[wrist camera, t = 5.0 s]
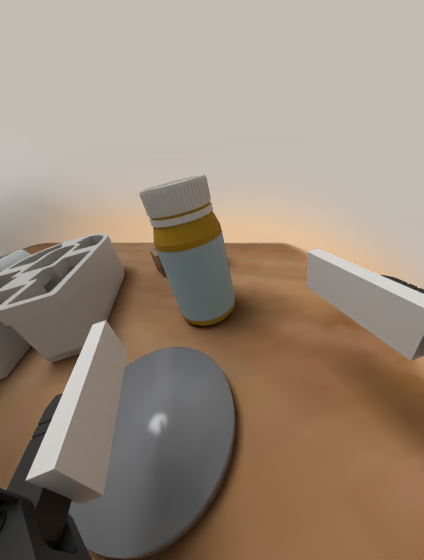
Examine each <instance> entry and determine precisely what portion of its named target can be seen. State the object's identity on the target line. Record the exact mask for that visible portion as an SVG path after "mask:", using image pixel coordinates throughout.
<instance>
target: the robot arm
mask: <svg viewBox="0 0 424 560" xmlns="http://www.w3.org/2000/svg"><path fill="white" fill-rule="evenodd" d="M307 287H308V288H309V289H311V290H312V291H314V292H315V293H316V294H318V295H319V296H321V297H322V298H323V299H325V300H326V301H328V302H329V303H330V304H332V305H333V306H335V307H336V308H337V309H339V310H340V311H342V312H343V313H344V314H346V315H347V316H349V317H350V318H351V319H353V320H354V321H356V322H357V323H358V324H360V325H361V326H363V327H364V328H365V329H367V330H368V331H370V332H371V333H372V334H374V335H375V336H377V337H378V338H379V339H381V340H382V341H384V342H385V343H386V344H388V345H389V346H391V347H392V348H393V349H395V350H396V351H398V352H399V353H400V354H402V355H403V356H405V357H406V358H407V359H409V360H410V361H412V360H415V359H417V358H419V357H421V356H424V289H421V288H417V287H416V286H414V285H411V284H407V282H404V281H402V280H399V279H397V278H394V277H389V276H385V275H378V274H376V273H374V272H372V271H369V270H367V269H365V268H362V267H360V266H358V265H355V264H353V263H351V262H348V261H346V260H344V259H342V258H339V257H337V256H335V255H332V254H330V253H327V252H325V251H323V250H320V249H316V250H313V251H310V252H308V266H307ZM126 355H127V350H126V349H125V347H124V346H123V344H122V343H121V341H120V340H119V338H118V337H117V335H116V334H115V333H114V331H113V330H112V328H111V327H110V325H109V324H108V322H107V321H106V320H105V321H102V322H99V323H96V324H93V325H92V327H91V330H90V332H89V334H88V337H87V339H86V341H85V344H84V346H83V348H82V350H81V353H80V355H79V357H78V360H77V362H76V364H75V367H74V369H73V371H72V374H71V376H70V378H69V381H68V383H67V385H66V388H65V390H64V392H63V393H62V394H59V395H56V396H55V397H54V399H53V400H52V401H51V403H50V404H49V405H48V407H47V408H46V409H45V411H44V413H43V415H42V417H41V419H40V421H39V423H38V425H39V426H38V427H37V428H36V430H35V432H34V434H33V436H32V437H33V438H32V440H30V442H29V444H28V446H27V449H26V451H25V453H24V455H23V457H22V459H21V461H20V463H19V465H18V467H17V469H16V472H15V474H14V476H13V478H12V480H11V482H10V484H9V486H8V488H7V490H3V489H1V488H0V560H91V558H90V556H89V553H88V551H87V549H86V546H85V544H84V542H83V540H82V537H81V535H80V533H79V531H78V528H77V526H76V524H75V521H74V519H73V517H72V516H71V515H70V514H68V513H69V509H70V505H71V501H74V502H76V503H78V504H81V505H82V504H85V503H87V502H89V501H91V500H94V499H96V498H98V497H101V496H103V495H104V489H105V483H106V477H107V471H108V465H109V459H110V453H111V447H112V440H113V434H114V428H115V422H116V416H117V410H118V404H119V398H120V392H121V386H122V380H123V374H124V368H125V362H126Z"/></svg>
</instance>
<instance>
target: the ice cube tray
mask: <svg viewBox="0 0 424 560" xmlns="http://www.w3.org/2000/svg"><path fill="white" fill-rule="evenodd" d="M124 276H125V273H124V268H123V265H122V263H121V261H120V260H119V258H118V256H117V254H116V252H115V250H114V248H113V246H112V242H111V240H110V238H109V236H108V235H107V234H94V235H89V236H84V237H81V238H77V239H74V240H70V241H67V242H65V243H61V244H58V245H55V246H53V247H50V248H47V249H45V250H42V251H40V252H38V253H35V254H33V255H31V256H29V257H26V258H24V259H22V260H20V261H18V262H17V263H15V264H13V265H11V266H10V267H8V268H6V269H5V270H3V271H1V272H0V379H3V378H6V377H7V376H8V375H9V374H10V372H11V371H12V370H13V369H14V367H15V366H16V365H17V363H18V362H19V361H20V360H21V358H22V357H23V356H24V354H25V353H26V352H27V351H28V349H29V348H30V347H31V346H32V347H33V348H35V349H36V350H37V351H38V352H39V353H40V354H41V355H42V356H43V357H44V358H45V359H46V360H49V361H53V362H55V361H58V360H62V359H65V358H68V357H71V356H74V355H77V354H80V353H81V350H82V348H83V346H84V344H85V341H86V339H87V337H88V334H89V332H90V330H91V327H92V325H93V324H96V323H99V322H102V321H105V320H106V321H107V319H108V317H109V314H110V312H111V309H112V307H113V304H114V301H115V299H116V296H117V294H118V291H119V289H120V286H121V284H122V281H123V279H124Z"/></svg>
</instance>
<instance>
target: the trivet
mask: <svg viewBox="0 0 424 560" xmlns="http://www.w3.org/2000/svg"><path fill="white" fill-rule="evenodd" d="M235 434H236V413H235V406H234V401H233V398H232V394H231V391H230V388H229V384H228V382H227V380H226V377H225V375H224V374H223V372H222V370H221V369H220V367H219V366H218V365H217V364H216V363H215V362H214V361H213V360H212V359H211V358H210V357H209V356H207V355H205V354H204V353H202V352H200V351H197V350H194V349H191V348H185V347H171V348H165V349H160V350H157V351H154V352H151V353H149V354H147V355H144V356H142V357H141V358H139V359H137V360H135V361H134V362H132V363H130V364H129V365H128V366H126V367H125V368H124V374H123V380H122V386H121V392H120V398H119V404H118V410H117V416H116V422H115V428H114V434H113V440H112V447H111V453H110V459H109V465H108V471H107V477H106V483H105V489H104V495H103V496H101V497H98V498H96V499H94V500H91V501H89V502H87V503H85V504H82V505H81V504H78V503H76V502H74V501H71V505H70V509H69V513H68V514H70V515H71V516H72V517H73V519H74V521H75V524H76V526H77V528H78V531H79V533H80V535H81V537H82V540H83V542H84V544H85V546H86V548H88V549H89V550H90V551H92V552H95V553H97V554H100V555H102V556H105V557H110V558H115V559H124V560H134V559H141V558H146V557H149V556H151V555H154V554H157V553H159V552H161V551H163V550H165V549H166V548H168V547H170V546H171V545H173V544H175V543H176V542H177V541H178V540H179V539H181V538H182V537H183V536H184V535H185V534H187V533H188V532H189V531H190V530H191V529H192V528H193V527H194V525H195V524H196V523H197V522H198V521H199V520H200V519H201V518H202V516H203V515H204V514H205V512H206V511H207V509H208V508H209V506H210V505H211V504H212V502H213V500H214V499H215V497H216V495H217V493H218V491H219V489H220V488H221V486H222V483H223V481H224V478H225V476H226V473H227V471H228V468H229V465H230V461H231V458H232V454H233V449H234V443H235Z"/></svg>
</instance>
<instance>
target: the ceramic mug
mask: <svg viewBox="0 0 424 560" xmlns="http://www.w3.org/2000/svg"><path fill="white" fill-rule="evenodd" d="M29 256H31V254H29V253H28V252H26V251H24V250H18V251H15V252H13V253H12V254H9V255H7V256H5V257H3V258H1V259H0V272H1V271H3V270H5V269H6V268H8V267H10V266H11V265H13V264H15V263H17V262H18V261H20V260H22V259H24V258H26V257H29Z"/></svg>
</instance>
